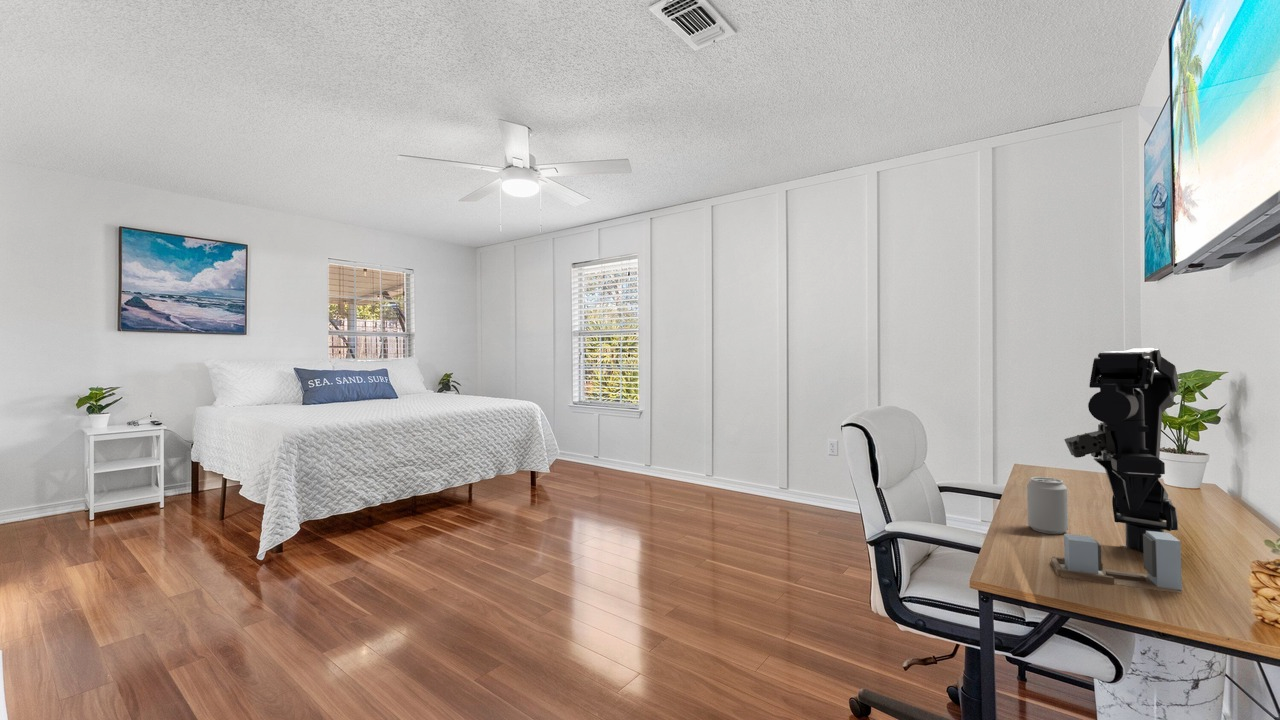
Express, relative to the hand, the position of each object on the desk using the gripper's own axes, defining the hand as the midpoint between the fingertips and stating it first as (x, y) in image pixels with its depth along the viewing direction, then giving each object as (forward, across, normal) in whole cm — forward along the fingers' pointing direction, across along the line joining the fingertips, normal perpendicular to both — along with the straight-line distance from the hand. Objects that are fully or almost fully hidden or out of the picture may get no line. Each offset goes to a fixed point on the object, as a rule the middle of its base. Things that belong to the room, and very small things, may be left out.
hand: (1125, 503), depth 99 cm
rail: (+13, +7, -4) cm, 15 cm away
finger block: (+11, +7, -8) cm, 16 cm away
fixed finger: (+12, +7, +3) cm, 14 cm away
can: (+13, -26, -8) cm, 30 cm away
